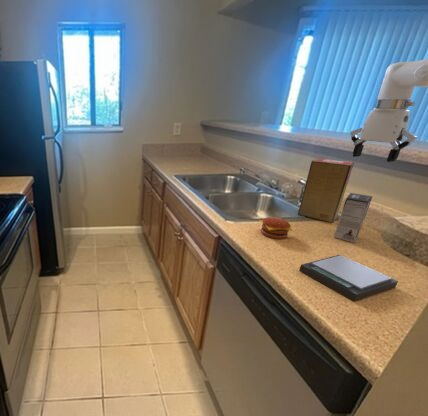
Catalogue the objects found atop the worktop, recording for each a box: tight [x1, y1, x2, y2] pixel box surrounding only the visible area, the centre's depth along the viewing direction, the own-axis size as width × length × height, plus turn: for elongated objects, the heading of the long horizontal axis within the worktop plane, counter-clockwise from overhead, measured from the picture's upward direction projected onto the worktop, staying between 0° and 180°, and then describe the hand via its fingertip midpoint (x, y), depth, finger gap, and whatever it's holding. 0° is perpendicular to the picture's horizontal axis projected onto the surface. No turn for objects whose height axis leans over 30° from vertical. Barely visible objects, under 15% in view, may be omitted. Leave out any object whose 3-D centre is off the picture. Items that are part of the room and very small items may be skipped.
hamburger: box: [259, 216, 294, 240], centre depth 107 cm, size 9×10×7 cm
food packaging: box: [297, 157, 355, 224], centre depth 120 cm, size 13×9×25 cm
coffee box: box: [333, 192, 373, 243], centre depth 102 cm, size 9×6×16 cm
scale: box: [299, 254, 399, 302], centre depth 80 cm, size 15×17×3 cm
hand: (372, 158), depth 94 cm, fingers open, 9 cm apart
